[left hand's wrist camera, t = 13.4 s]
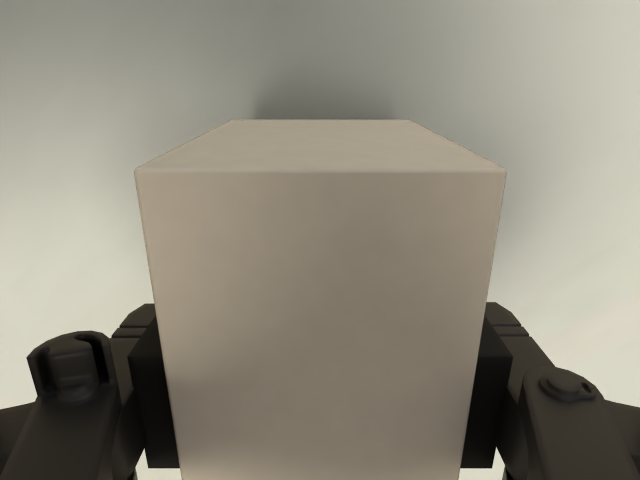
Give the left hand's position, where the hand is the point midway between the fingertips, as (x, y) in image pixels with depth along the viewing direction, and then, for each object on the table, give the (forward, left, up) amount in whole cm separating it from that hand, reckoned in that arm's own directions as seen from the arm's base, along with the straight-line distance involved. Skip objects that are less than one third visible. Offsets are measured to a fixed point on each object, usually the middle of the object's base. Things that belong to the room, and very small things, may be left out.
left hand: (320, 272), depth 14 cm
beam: (+22, +5, -1) cm, 23 cm away
